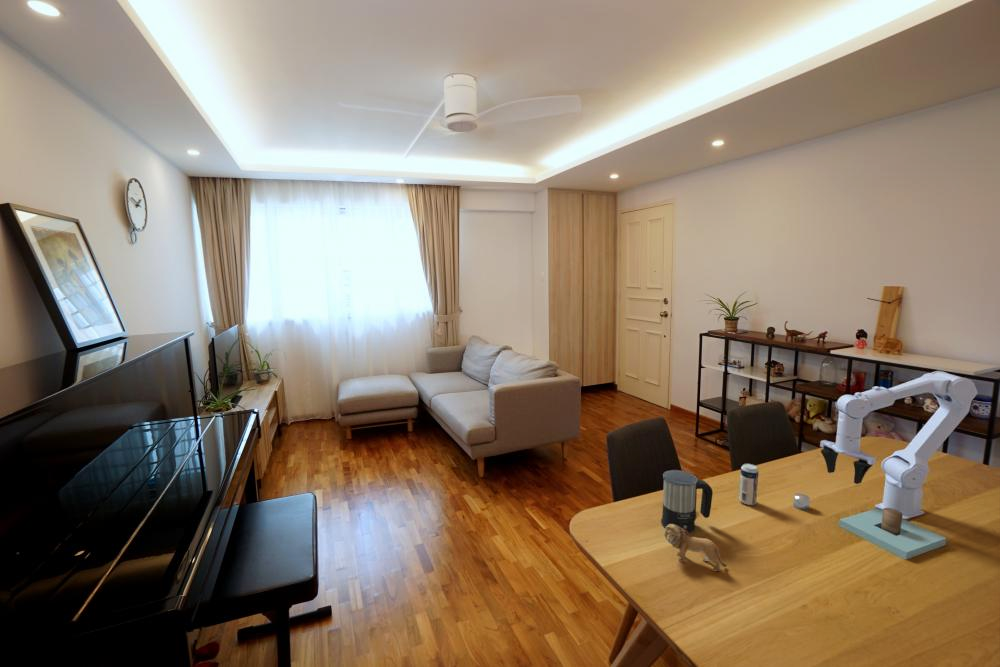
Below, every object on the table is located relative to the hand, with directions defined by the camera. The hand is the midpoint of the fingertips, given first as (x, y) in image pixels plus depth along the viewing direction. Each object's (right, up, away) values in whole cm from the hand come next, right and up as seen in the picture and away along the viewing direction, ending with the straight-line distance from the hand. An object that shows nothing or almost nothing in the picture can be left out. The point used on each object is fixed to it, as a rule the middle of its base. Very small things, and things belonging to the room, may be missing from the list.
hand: (844, 477), depth 136 cm
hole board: (+2, -11, -14) cm, 18 cm away
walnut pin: (+2, -12, -14) cm, 18 cm away
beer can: (-28, -9, +4) cm, 29 cm away
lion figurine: (-57, -14, -24) cm, 64 cm away
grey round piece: (-13, -10, +1) cm, 16 cm away
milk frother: (-53, -11, -4) cm, 54 cm away
